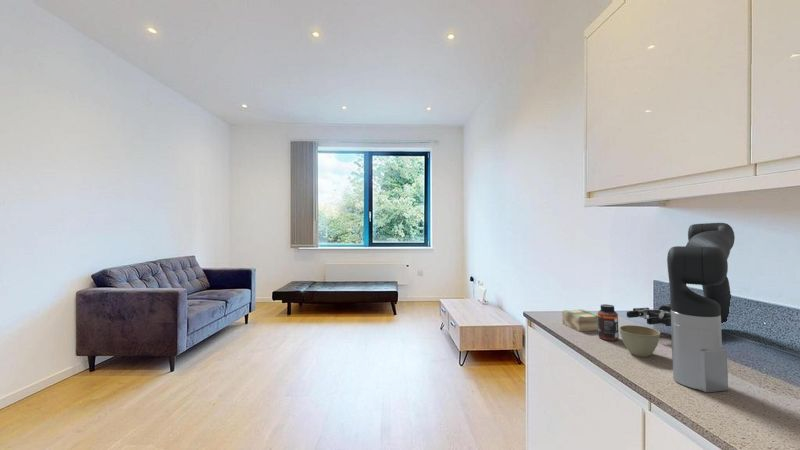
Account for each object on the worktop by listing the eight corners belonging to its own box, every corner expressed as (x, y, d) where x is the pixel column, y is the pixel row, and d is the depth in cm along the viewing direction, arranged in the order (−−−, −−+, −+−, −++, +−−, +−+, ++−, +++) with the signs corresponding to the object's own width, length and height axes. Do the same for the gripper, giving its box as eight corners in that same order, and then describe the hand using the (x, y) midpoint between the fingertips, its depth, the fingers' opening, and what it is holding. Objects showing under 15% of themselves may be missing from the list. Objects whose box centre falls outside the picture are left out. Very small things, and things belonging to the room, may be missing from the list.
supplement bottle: (622, 341, 112) (621, 307, 112) (604, 341, 112) (603, 307, 112) (612, 335, 118) (610, 303, 118) (594, 335, 118) (593, 303, 118)
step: (601, 329, 125) (601, 315, 125) (579, 331, 123) (578, 317, 124) (583, 322, 135) (583, 309, 135) (562, 323, 133) (562, 310, 134)
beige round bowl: (612, 349, 105) (611, 326, 105) (638, 346, 107) (638, 323, 107) (641, 362, 95) (640, 336, 95) (669, 358, 97) (669, 333, 97)
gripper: (660, 299, 126) (620, 302, 124) (698, 308, 112) (654, 312, 110) (661, 319, 126) (621, 322, 124) (699, 331, 112) (655, 335, 110)
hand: (637, 317), depth 117 cm, fingers open, 8 cm apart
